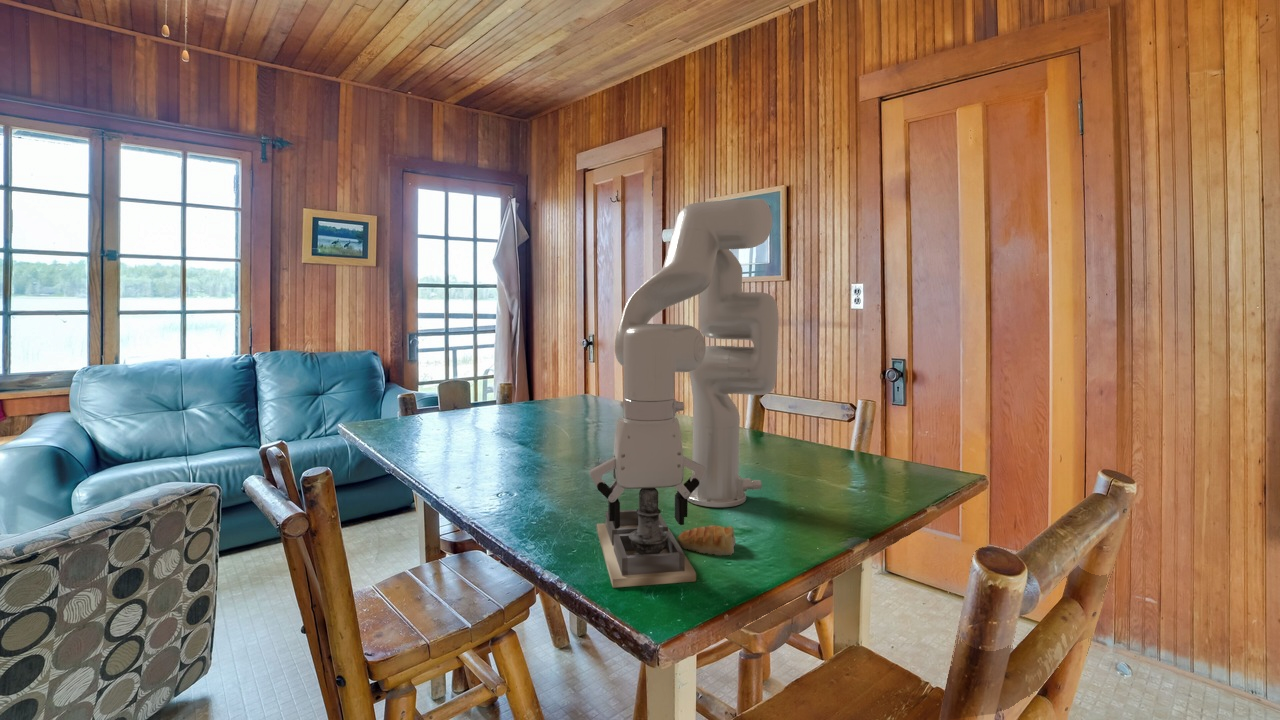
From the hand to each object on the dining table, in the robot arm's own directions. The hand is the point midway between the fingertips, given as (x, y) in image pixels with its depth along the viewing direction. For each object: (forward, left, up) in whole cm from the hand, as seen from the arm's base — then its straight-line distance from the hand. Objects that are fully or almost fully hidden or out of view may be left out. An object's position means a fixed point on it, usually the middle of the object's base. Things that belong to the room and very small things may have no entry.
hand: (647, 523), depth 88 cm
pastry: (-12, -6, -7) cm, 15 cm away
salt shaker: (0, 0, -6) cm, 6 cm away
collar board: (0, -6, -7) cm, 9 cm away
